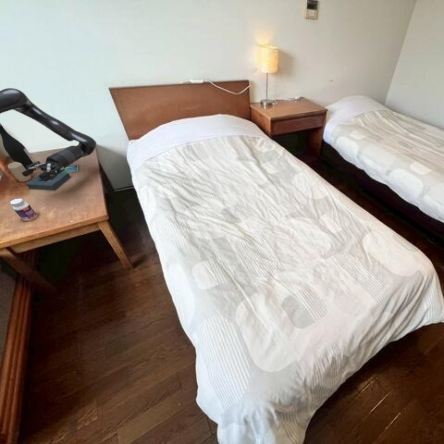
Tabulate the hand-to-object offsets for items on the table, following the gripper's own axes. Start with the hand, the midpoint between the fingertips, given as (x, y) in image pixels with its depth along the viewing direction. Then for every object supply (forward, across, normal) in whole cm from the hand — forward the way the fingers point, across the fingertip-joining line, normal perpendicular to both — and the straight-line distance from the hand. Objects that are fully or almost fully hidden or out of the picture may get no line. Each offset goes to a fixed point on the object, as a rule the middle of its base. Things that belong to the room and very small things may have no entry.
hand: (31, 176), depth 114 cm
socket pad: (-14, -15, +16) cm, 26 cm away
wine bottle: (-24, -39, +16) cm, 49 cm away
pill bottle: (+11, 0, +16) cm, 20 cm away
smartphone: (-26, -19, +16) cm, 36 cm away
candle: (-14, -30, +16) cm, 37 cm away
